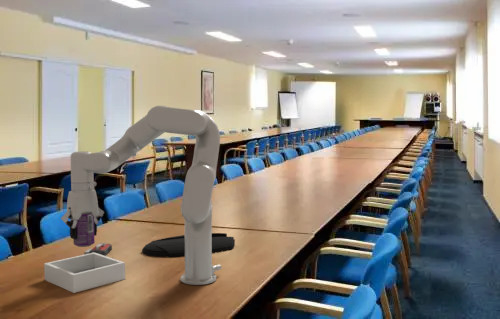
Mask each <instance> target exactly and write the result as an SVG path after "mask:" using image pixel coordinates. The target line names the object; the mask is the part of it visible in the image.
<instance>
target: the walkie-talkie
mask: <svg viewBox="0 0 500 319" xmlns="http://www.w3.org/2000/svg"><path fill="white" fill-rule="evenodd" d="M111 250H113V245H112V244H111V243H105V242H102V243H101V242H100V243H97V244H96V245H95V246H94V247H93V248H92V247H91V248H88V249H87V250H85V251H83V255H85V254H90V253H94V252H95V253H98V254H101V255H104V256H107V255H108V254H109V253H111V252H112V251H111ZM110 251H111V252H110Z"/></svg>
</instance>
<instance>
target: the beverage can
mask: <svg viewBox="0 0 500 319" xmlns="http://www.w3.org/2000/svg"><path fill="white" fill-rule="evenodd" d="M75 228H77V239H73V245H74V246H76V247H78V248H87V247H90V246H92V245H93V244H95V236H94V216H93V214H92V212H89V213H82V215H81V217H80V218H79V220H77V224H76V226H75Z"/></svg>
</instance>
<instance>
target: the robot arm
mask: <svg viewBox="0 0 500 319" xmlns="http://www.w3.org/2000/svg"><path fill="white" fill-rule="evenodd" d="M219 130H220V129H219V127H218V125H217V123H216V121H215V120H214V119H213V118H212V117H211V116H210V114H209V115H208V114H207V113H206V112H205V111H204V110H200V109H187V108H180V107H179V108H177V107H169V106H166V105H155V106H153V107H151V108H150V109H149V110H148V111H147V114H145V116H143V117H142V118H141V119H139V120H138V121H136V122H135V123H134V124H132V125H130V127H128V128H127V129H126V130H125V133H124V134H123V135H122V137H121V138H119V139H118V140H117V141H116V142H114V143H113V144H112V145H110V146H109V147H108V148H106V149H105V150H102V151H99V152H91V151H73V152H72V153H71V154H70V182H71V183H70V185H71V188H70V189H71V190H70V191H69V190H68V195H67V200H66V201H67V202H66V211H65V212H64V214H63V215H62V216H61V217H60V219H61V220H62V222H63V223H64V224H65V225H66V226H67V227H68V228H69V236H70V239H71V240H72V239H77V228H75V226H76V224H77V220H79V218H80V217H81V215H82V213H89V212H92V214H93V216H94V237H96V236H97V233H98V224H99V221H100V220H101V219H102V217H103V216H104V214H105V211H104V210H102V209H101V208H100V207H99V204H98V203H99V201H98V196H97V192H96V189H95V187H96V186H97V184H98V183H97V182H96V181H94V180H95V179H94V174H99V175H100V174H101V175H102V174H107V173H109V172H111V171H113V170H115V169H117V168H118V167H119V166H121V165H122V164H123V163H125V162H127V161H128V160H129V159H130V158H132V157H133V156H134V155H135V154H137V153H139V152H140V151H142V150H143V149H144V148H146V147H147V146H148V145H149V144H151V143H152V142H154V141H155V140H156V139H157V138H160V136H162V135H163V134H165V133H169V134H177V135H184V136H194V137H195V144H194V150H193V158H192V163H191V166H190V167H189V169H187V173H186V175H185V179H184V180H185V181H184V184H183V185H184V186H183V192H182V198H181V206H180V213H181V216H182V217H183V219H184V235H185V256H184V273H183V274H182V275H181V276H180V282H182V283H183V284H186V285H191V286H202V285H203V286H205V285H209V284H211V283H214V282H215V281H216V280H217V275H216V274H215V272H216V271H220V270H222V265H221V264H216V265H214V264H212V263H213V260H212V259H213V258H212V257H213V256H212V255H213V253H212V233H213V231H212V229H213V224H212V223H213V202H212V197H213V196H212V195H213V190H214V185H215V181H216V177H217V167H218V161H219V160H218V159H219V152H220V145H221V134H220V131H219Z"/></svg>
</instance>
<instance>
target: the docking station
mask: <svg viewBox="0 0 500 319" xmlns="http://www.w3.org/2000/svg"><path fill="white" fill-rule="evenodd" d="M235 246H236V239H235V238H234V236H228V234H227V233H226V232H225V233H221V232H212V254H215V252H217V253H221V251H223V252H227V251H226V250H228V251H232V250H233V249H234V248H235ZM141 253H142V255H145V256H148V257H157V258H182V256H183V257H185V234H183V235H182V234H181V235H176V236H169V237H165V238H164V237H163V238H160V239H156V240H152V241H151V242H149V243H147V244H145V245H144V246H143V247H142V250H141Z"/></svg>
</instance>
